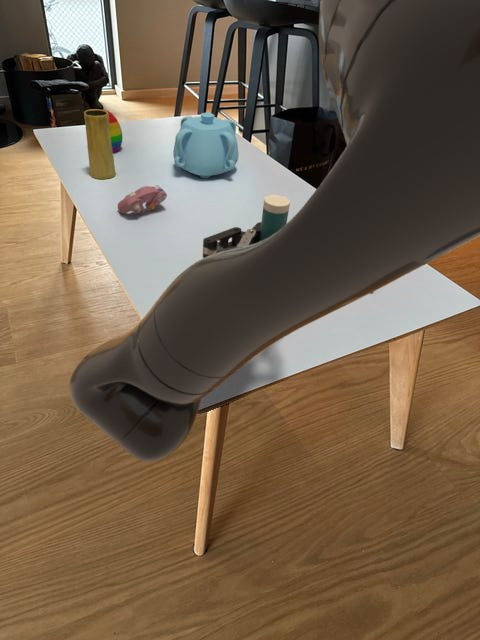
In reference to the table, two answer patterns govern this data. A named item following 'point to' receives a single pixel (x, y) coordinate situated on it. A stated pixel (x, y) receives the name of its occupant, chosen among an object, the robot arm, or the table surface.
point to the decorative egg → (115, 132)
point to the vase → (99, 144)
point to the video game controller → (142, 199)
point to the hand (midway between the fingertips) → (279, 230)
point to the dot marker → (273, 215)
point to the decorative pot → (206, 145)
